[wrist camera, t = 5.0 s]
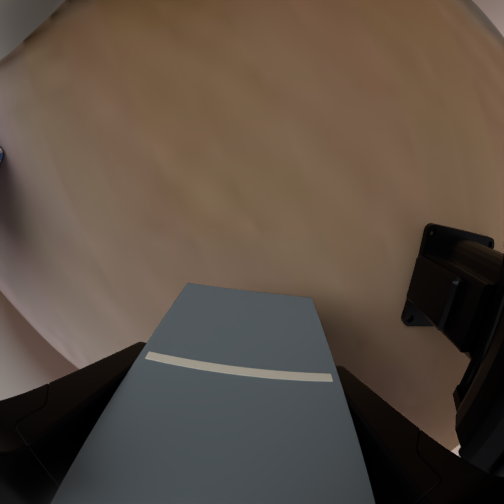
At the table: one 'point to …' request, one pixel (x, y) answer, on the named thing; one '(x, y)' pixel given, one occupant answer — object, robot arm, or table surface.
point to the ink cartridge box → (1, 154)
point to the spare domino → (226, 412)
